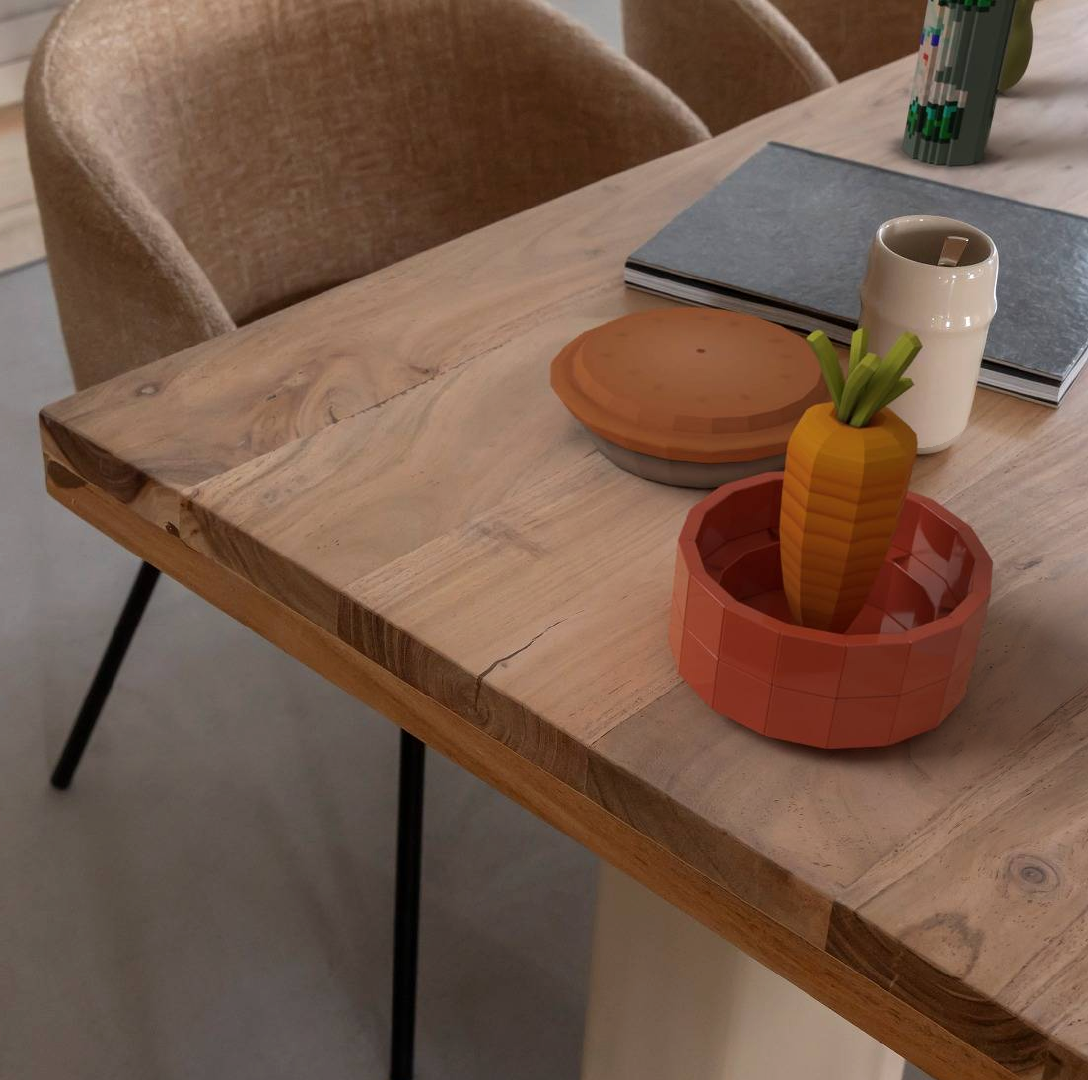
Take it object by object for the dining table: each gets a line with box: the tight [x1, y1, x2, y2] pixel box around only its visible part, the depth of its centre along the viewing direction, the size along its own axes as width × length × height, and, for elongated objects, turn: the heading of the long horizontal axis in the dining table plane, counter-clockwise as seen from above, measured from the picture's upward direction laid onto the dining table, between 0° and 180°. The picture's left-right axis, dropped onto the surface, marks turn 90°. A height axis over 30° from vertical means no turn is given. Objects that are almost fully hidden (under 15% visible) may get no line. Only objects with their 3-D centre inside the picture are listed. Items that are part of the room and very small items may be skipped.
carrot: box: [779, 327, 924, 635], centre depth 57 cm, size 5×5×15 cm
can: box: [901, 0, 1018, 167], centre depth 110 cm, size 6×6×15 cm
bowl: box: [667, 470, 994, 750], centre depth 60 cm, size 12×12×6 cm
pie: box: [549, 306, 847, 489], centre depth 76 cm, size 15×16×5 cm
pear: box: [999, 0, 1035, 93], centre depth 124 cm, size 6×5×10 cm
